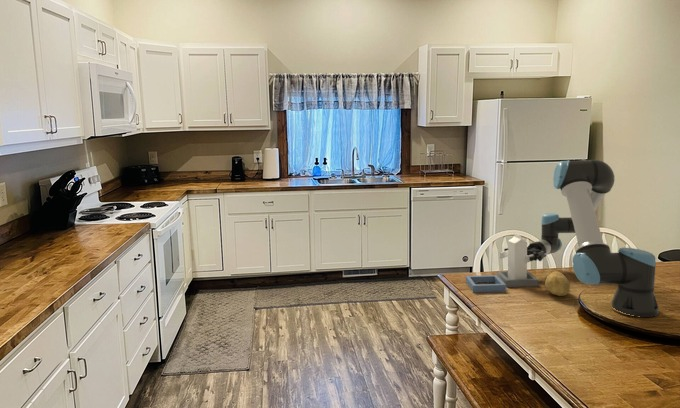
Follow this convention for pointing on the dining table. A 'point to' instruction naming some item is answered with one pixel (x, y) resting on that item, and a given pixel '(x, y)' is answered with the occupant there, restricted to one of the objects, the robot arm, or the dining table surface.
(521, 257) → the milk
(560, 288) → the potato
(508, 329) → the dining table surface
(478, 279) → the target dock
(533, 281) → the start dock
